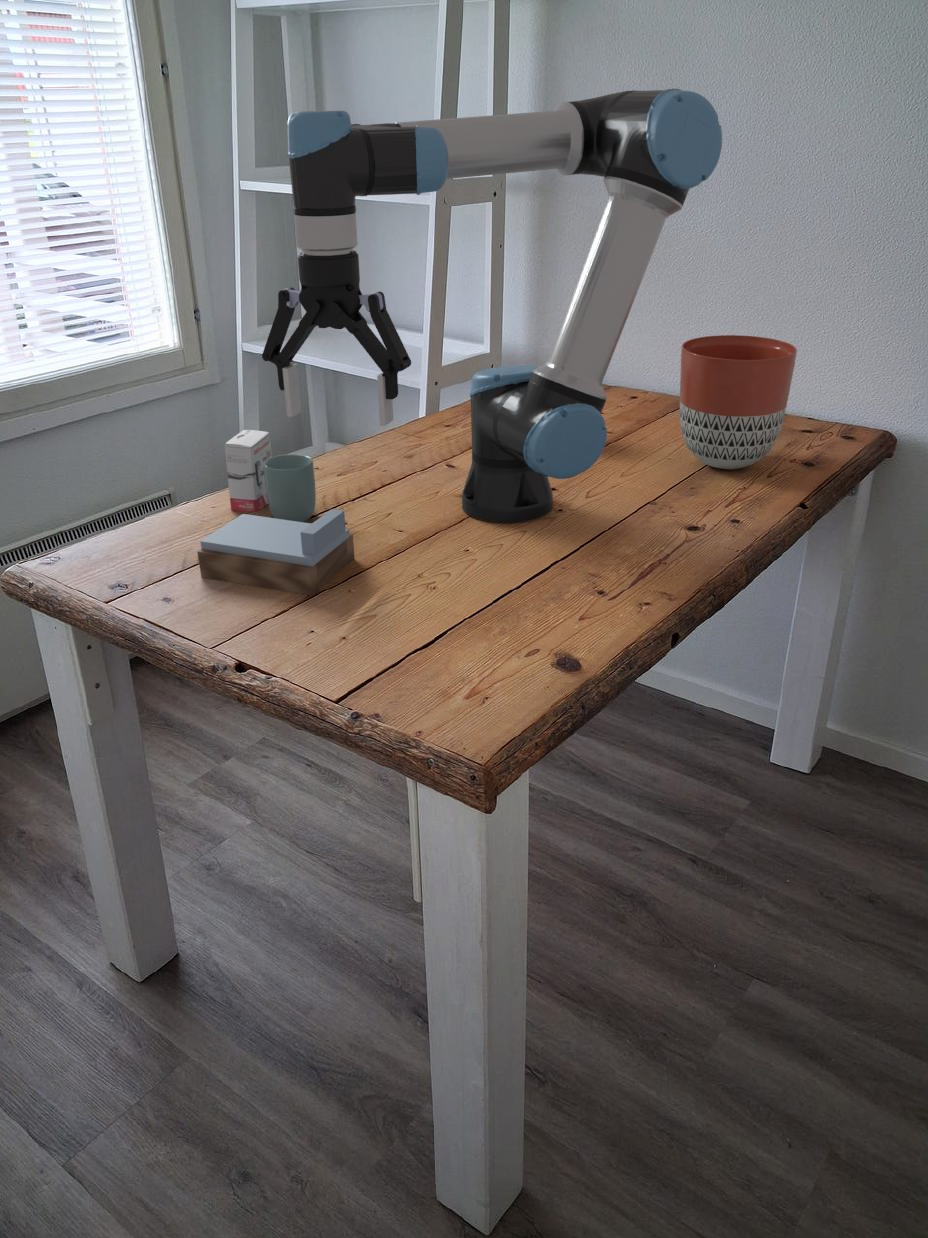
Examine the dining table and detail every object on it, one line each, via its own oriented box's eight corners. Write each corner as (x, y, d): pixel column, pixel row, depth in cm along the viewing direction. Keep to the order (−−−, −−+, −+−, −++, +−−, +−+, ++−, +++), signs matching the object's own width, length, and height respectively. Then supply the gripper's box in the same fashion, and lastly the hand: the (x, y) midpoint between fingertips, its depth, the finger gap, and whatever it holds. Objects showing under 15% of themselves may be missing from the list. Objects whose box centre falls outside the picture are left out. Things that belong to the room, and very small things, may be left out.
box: (354, 561, 149) (352, 533, 147) (311, 598, 138) (308, 569, 136) (250, 545, 155) (247, 518, 153) (201, 580, 144) (197, 551, 142)
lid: (349, 536, 146) (347, 508, 144) (312, 566, 137) (309, 536, 135) (243, 521, 152) (240, 493, 150) (201, 548, 143) (197, 520, 141)
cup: (326, 514, 166) (321, 456, 161) (304, 531, 159) (298, 471, 155) (284, 509, 168) (278, 452, 164) (261, 526, 162) (254, 467, 157)
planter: (661, 475, 180) (671, 355, 170) (683, 443, 195) (693, 331, 185) (773, 488, 173) (790, 363, 163) (786, 454, 189) (802, 339, 179)
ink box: (259, 514, 166) (250, 445, 161) (230, 513, 167) (221, 444, 162) (277, 496, 174) (270, 429, 168) (250, 494, 175) (242, 428, 169)
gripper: (432, 249, 123) (437, 418, 133) (254, 243, 131) (271, 403, 140) (409, 258, 117) (416, 434, 127) (223, 251, 124) (243, 418, 134)
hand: (339, 418), depth 134 cm, fingers open, 13 cm apart
